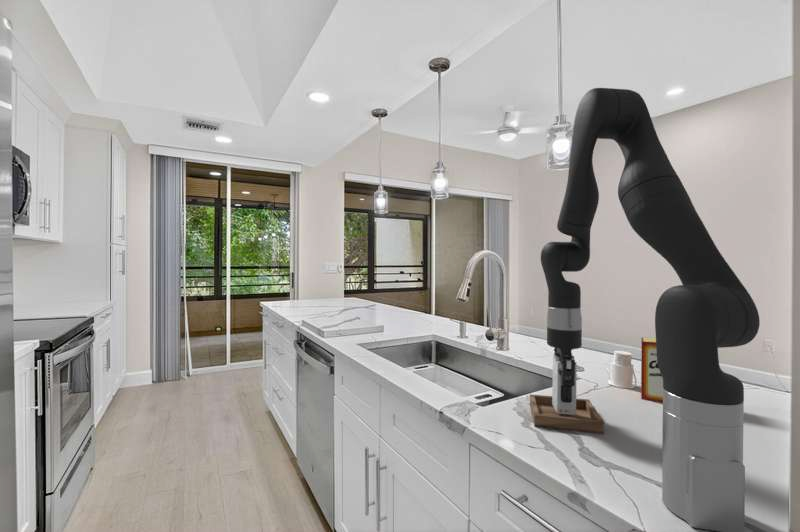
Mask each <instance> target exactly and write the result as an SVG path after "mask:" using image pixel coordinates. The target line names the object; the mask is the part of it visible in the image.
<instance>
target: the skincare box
mask: <svg viewBox="0 0 800 532" xmlns="http://www.w3.org/2000/svg"><path fill="white" fill-rule="evenodd" d="M577 368H578V367H577V362H576V361H575V380H574V382H575V385H574V386H573V387H572V402H571V403H565V402H562V401H561V384H560V375H559V374H558V369H560V370H561V371H562V364H561V362H559V361H558V362H556V358H554V355H553V356H552V389H551V390H552V395H551V396H552V405H553V407H554V408H555V410H556V412H557V413H558V414H568V415H576V398H577ZM565 380H569V376H565Z"/></svg>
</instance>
